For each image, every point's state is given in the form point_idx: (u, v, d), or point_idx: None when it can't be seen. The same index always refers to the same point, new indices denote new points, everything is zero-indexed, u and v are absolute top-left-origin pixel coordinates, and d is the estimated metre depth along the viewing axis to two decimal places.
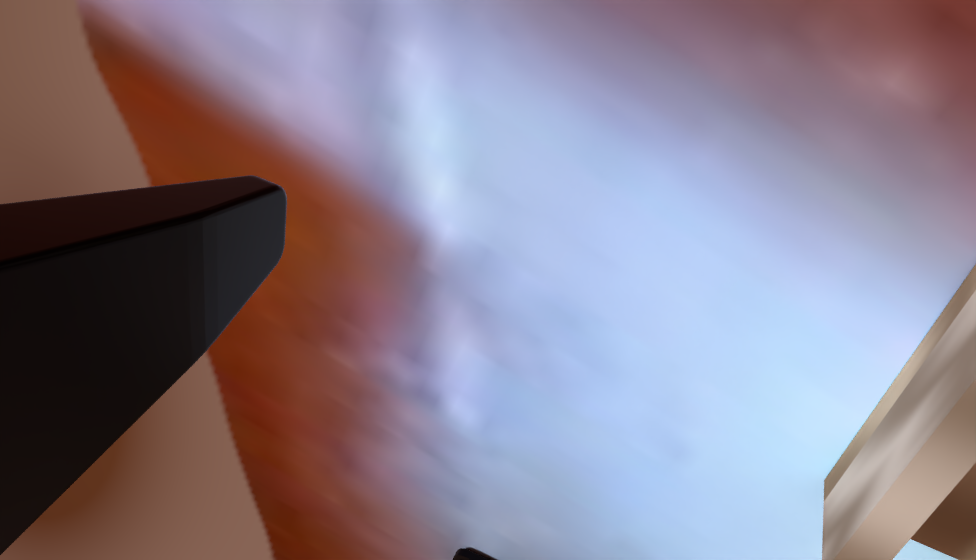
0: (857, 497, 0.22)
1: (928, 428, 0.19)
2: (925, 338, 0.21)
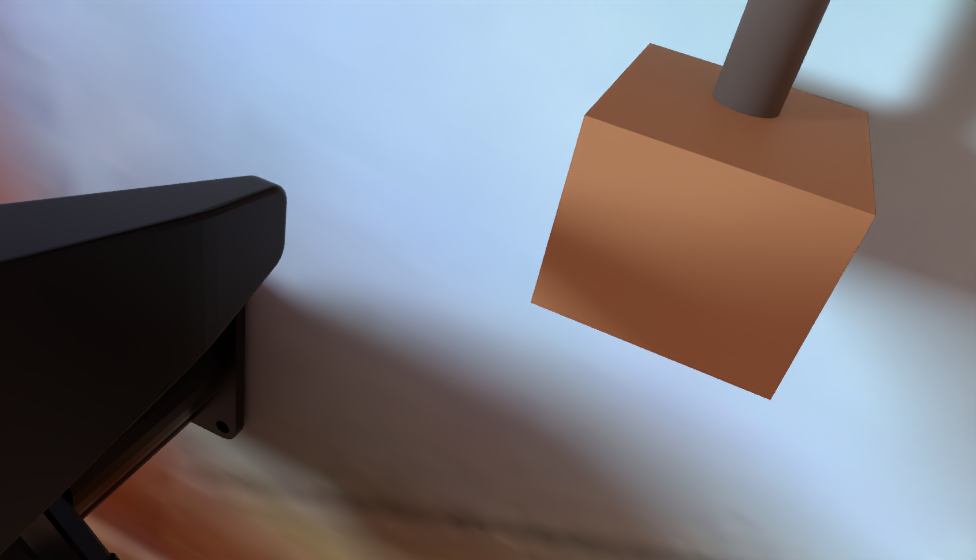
0: None
1: None
2: None
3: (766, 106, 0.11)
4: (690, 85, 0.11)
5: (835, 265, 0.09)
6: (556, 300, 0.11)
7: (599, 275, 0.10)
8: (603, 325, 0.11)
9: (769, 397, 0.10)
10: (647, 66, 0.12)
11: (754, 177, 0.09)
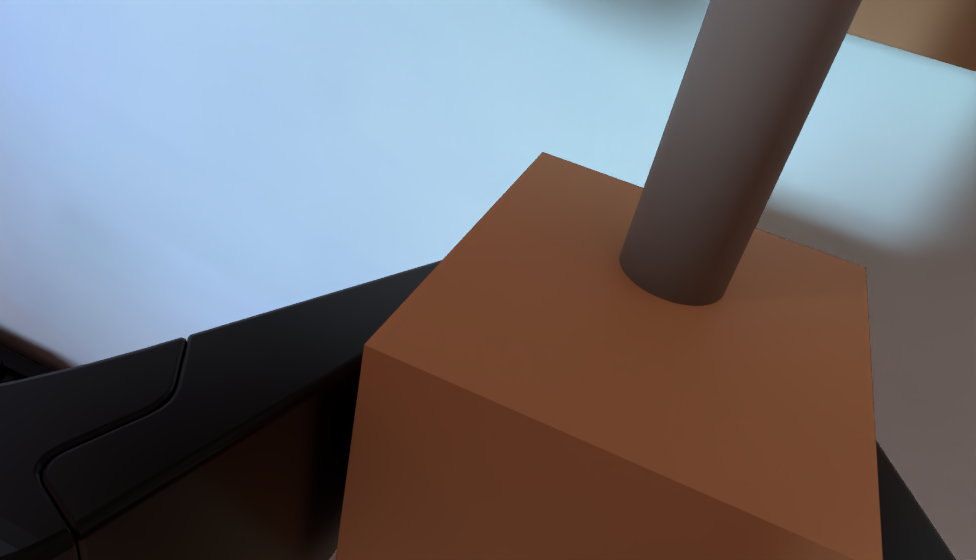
0: None
1: None
2: None
3: (700, 289, 0.06)
4: (586, 240, 0.07)
5: None
6: None
7: None
8: None
9: None
10: (523, 203, 0.07)
11: (657, 479, 0.05)
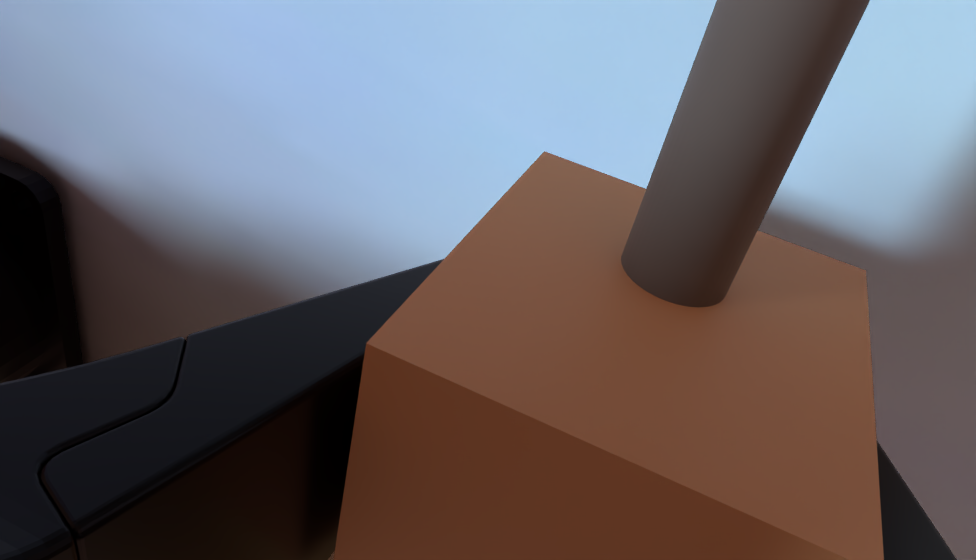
0: None
1: None
2: None
3: (702, 291, 0.06)
4: (588, 241, 0.07)
5: None
6: None
7: None
8: None
9: None
10: (525, 203, 0.07)
11: (659, 480, 0.05)
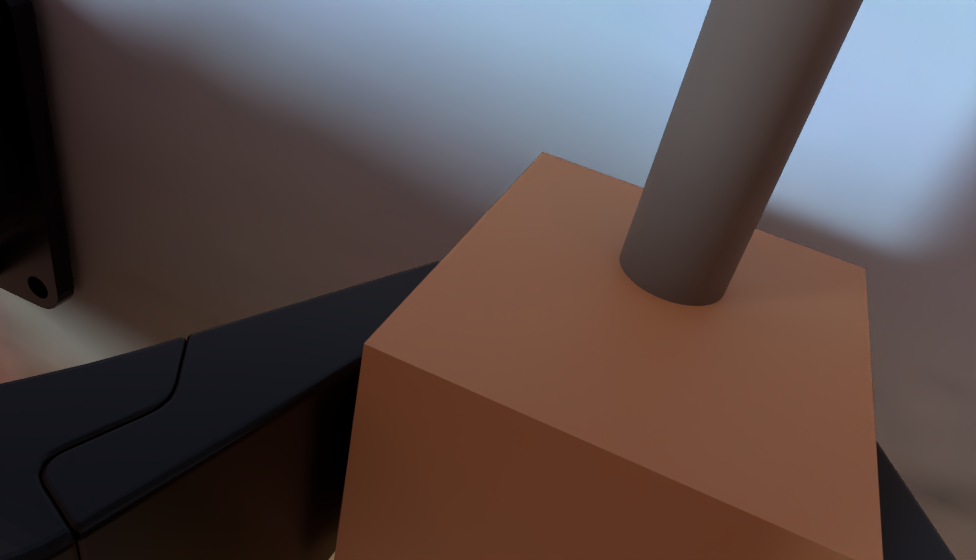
0: None
1: None
2: None
3: (700, 289, 0.06)
4: (586, 241, 0.07)
5: None
6: None
7: None
8: None
9: None
10: (523, 203, 0.07)
11: (658, 477, 0.05)
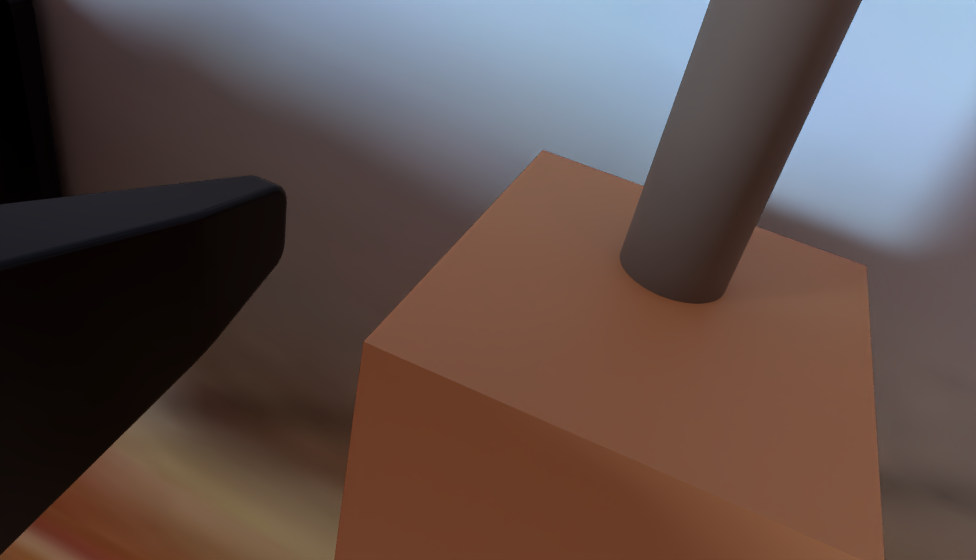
0: None
1: None
2: None
3: (701, 287, 0.06)
4: (586, 239, 0.07)
5: None
6: None
7: None
8: None
9: None
10: (523, 201, 0.07)
11: (658, 477, 0.05)
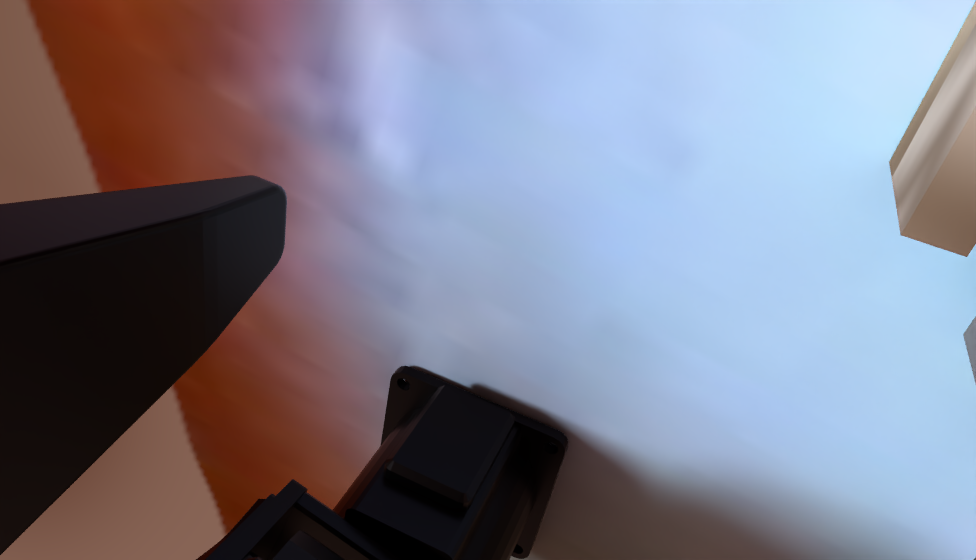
0: (956, 105, 0.14)
1: None
2: None
3: None
4: None
5: None
6: None
7: None
8: None
9: None
10: None
11: None
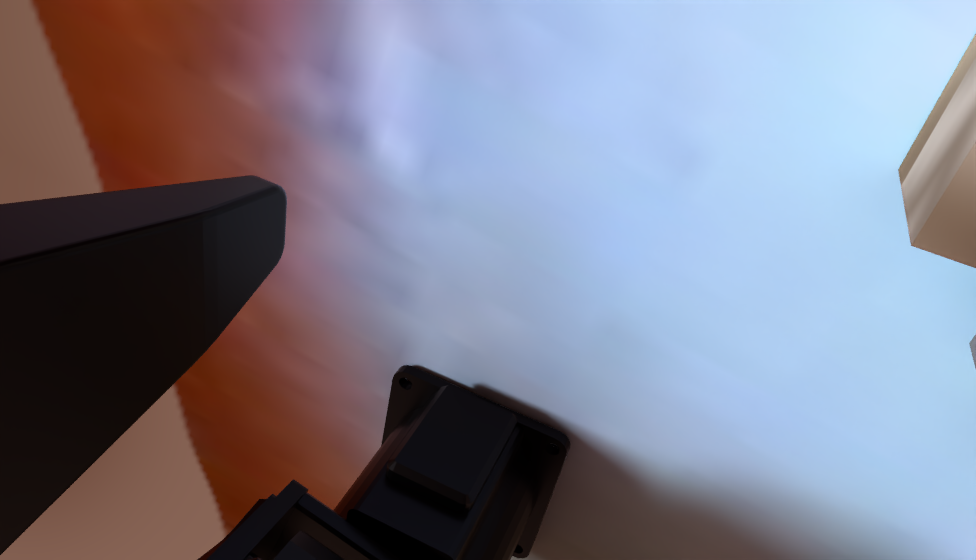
0: (969, 116, 0.14)
1: None
2: None
3: None
4: None
5: None
6: None
7: None
8: None
9: None
10: None
11: None
